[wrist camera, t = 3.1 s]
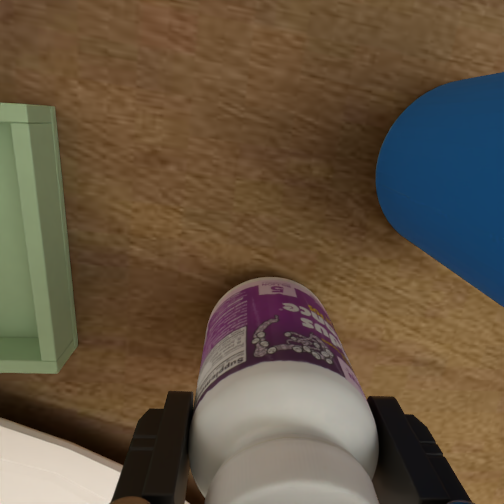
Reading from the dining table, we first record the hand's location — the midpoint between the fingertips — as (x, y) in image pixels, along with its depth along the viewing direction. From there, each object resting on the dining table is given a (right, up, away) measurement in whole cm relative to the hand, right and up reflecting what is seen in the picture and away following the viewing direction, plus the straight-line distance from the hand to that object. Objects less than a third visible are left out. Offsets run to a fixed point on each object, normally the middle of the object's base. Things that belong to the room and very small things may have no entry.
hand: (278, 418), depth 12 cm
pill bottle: (0, +2, +5) cm, 6 cm away
